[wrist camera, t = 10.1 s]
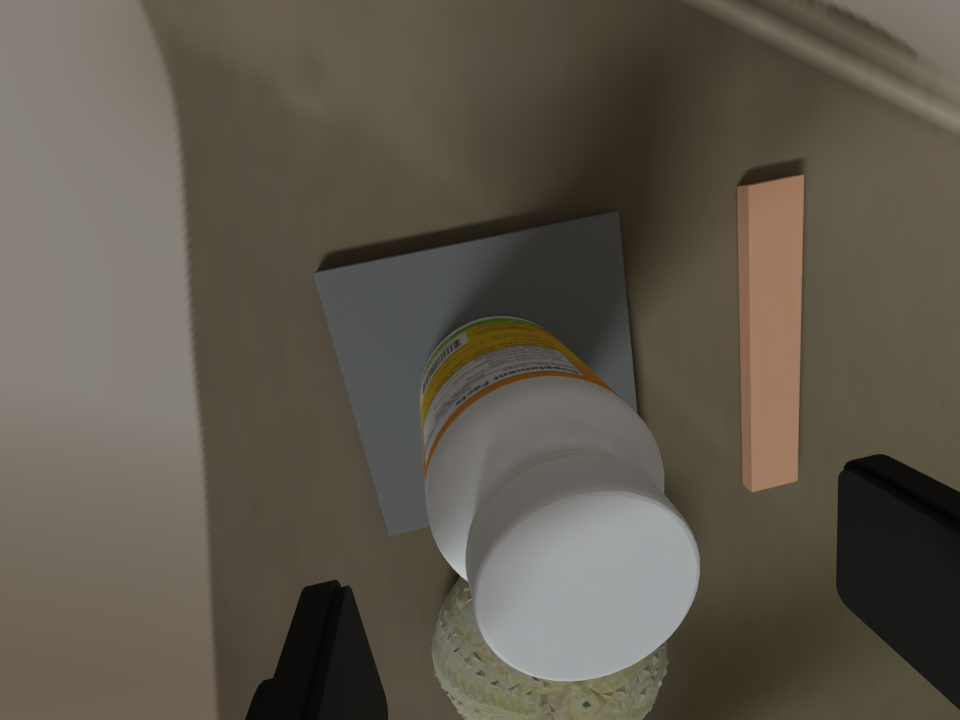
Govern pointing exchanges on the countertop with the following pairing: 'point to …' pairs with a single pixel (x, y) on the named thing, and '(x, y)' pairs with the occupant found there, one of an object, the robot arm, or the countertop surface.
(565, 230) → the pad
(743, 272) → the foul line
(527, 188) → the countertop surface
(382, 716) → the robot arm
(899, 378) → the countertop surface
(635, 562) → the supplement bottle
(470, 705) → the sea urchin shell
